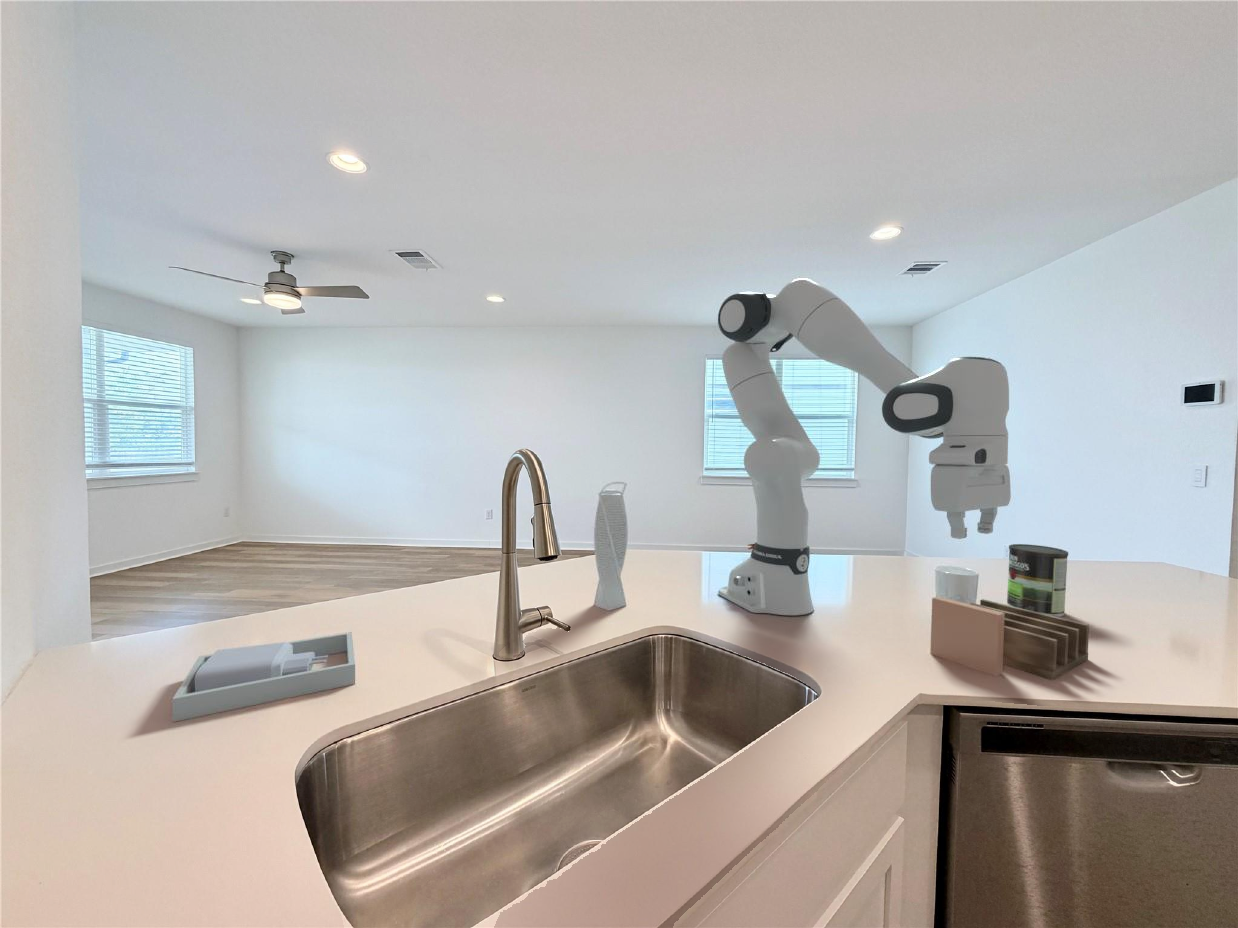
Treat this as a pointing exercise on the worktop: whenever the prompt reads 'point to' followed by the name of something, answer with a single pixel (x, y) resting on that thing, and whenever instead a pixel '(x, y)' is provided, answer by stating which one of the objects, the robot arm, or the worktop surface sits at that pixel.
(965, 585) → the white cup
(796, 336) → the robot arm
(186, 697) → the tray
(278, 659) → the charger
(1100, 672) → the worktop surface
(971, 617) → the tan wooden panel
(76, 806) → the worktop surface
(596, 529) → the skyscraper
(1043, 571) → the coffee can
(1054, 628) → the dish rack
